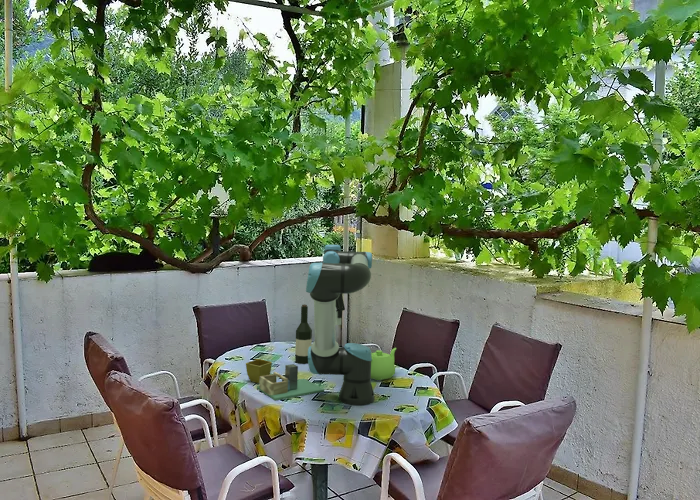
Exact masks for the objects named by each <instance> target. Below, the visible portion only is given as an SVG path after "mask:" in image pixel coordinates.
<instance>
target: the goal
mask: <svg viewBox="0 0 700 500" xmlns="http://www.w3.org/2000/svg"><path fill="white" fill-rule="evenodd" d="M277 378H279V379H280V380H281V381H277ZM282 380H284V381H282ZM258 386H259V388H260V389H261V390H262V391H264V392H265V393H267V394H269V395H277V394H282V393H288V379H287V378H285V375H282V374H280V373H278V372H277V371H274V372H273V374H270V375H266V376H259V383H258Z"/></svg>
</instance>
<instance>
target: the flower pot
mask: <svg viewBox="0 0 700 500" xmlns="http://www.w3.org/2000/svg"><path fill="white" fill-rule="evenodd" d="M272 365H273V361H270V360H266V359H265V360H264V359H261V358H256V359H253V360H251V361H248V362H246V363H245V366H246V367H245V368H246V374H247V375H246V376H247V377H248V378H249V380H250V382H253V383H256V384H259V376H266V375H271V371H272Z"/></svg>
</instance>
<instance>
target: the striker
mask: <svg viewBox="0 0 700 500" xmlns="http://www.w3.org/2000/svg"><path fill="white" fill-rule="evenodd" d="M284 371H285V372H284V374H285V375H284V377H285V378H287V379H288V390H292V389H297V380H299V379H298V377H299V376H298V371H299V366H298V365H296V364H294V363H292V364H285V369H284ZM282 381H284V380H282V379H281V382H282Z"/></svg>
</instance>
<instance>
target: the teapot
mask: <svg viewBox="0 0 700 500" xmlns="http://www.w3.org/2000/svg"><path fill="white" fill-rule="evenodd" d="M396 351H397V347H394V348H392V349H391V351H390V353H386V352H383V350H379V349H377V350H376V351H375V352H371V358H372V361H371V380H375V381H376V380H381V381H382V380H388V378H389V379H391V378H392V377H393V376H395V373H396V367H395V352H396Z"/></svg>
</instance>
